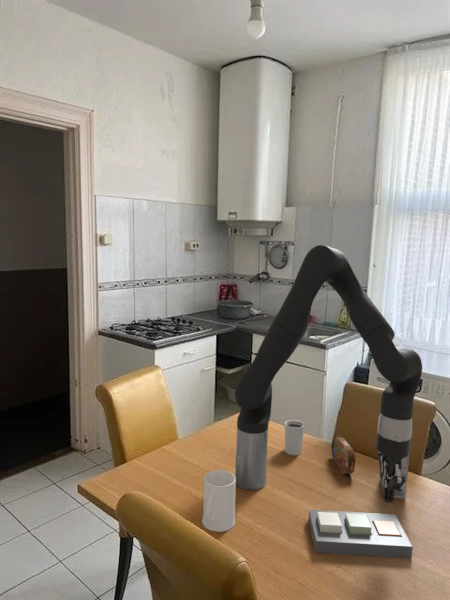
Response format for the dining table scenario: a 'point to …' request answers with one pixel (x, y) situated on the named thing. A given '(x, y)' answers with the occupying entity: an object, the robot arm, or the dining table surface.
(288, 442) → the white cup
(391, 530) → the terracotta button
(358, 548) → the button panel
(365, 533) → the sage button
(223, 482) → the mug
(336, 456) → the tin
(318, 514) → the offwhite button
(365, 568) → the dining table surface
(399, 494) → the coffee box
